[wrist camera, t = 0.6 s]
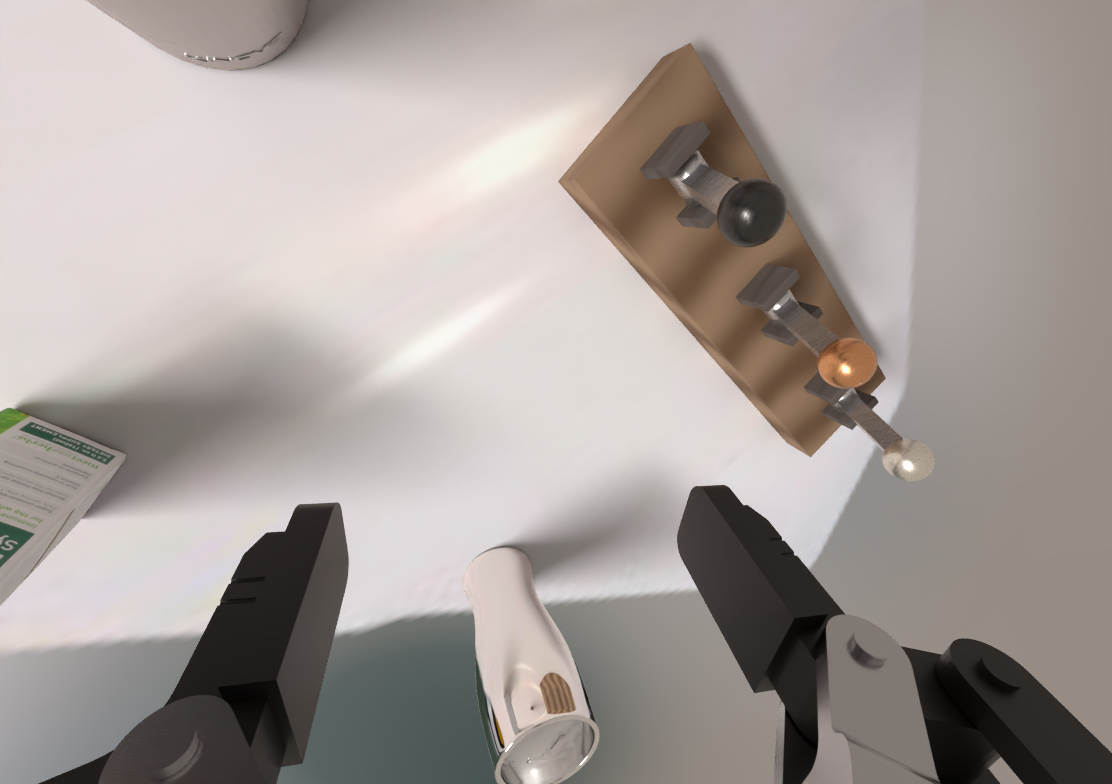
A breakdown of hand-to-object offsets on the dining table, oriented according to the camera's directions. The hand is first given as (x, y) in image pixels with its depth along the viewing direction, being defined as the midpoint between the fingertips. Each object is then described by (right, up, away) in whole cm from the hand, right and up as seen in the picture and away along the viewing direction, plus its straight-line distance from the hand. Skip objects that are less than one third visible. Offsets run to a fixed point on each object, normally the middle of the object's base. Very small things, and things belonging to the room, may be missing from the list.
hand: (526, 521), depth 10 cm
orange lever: (+17, +10, +24) cm, 31 cm away
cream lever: (+25, +3, +30) cm, 39 cm away
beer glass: (-5, -13, +30) cm, 33 cm away
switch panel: (+16, +11, +27) cm, 33 cm away
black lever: (+9, +17, +18) cm, 26 cm away
